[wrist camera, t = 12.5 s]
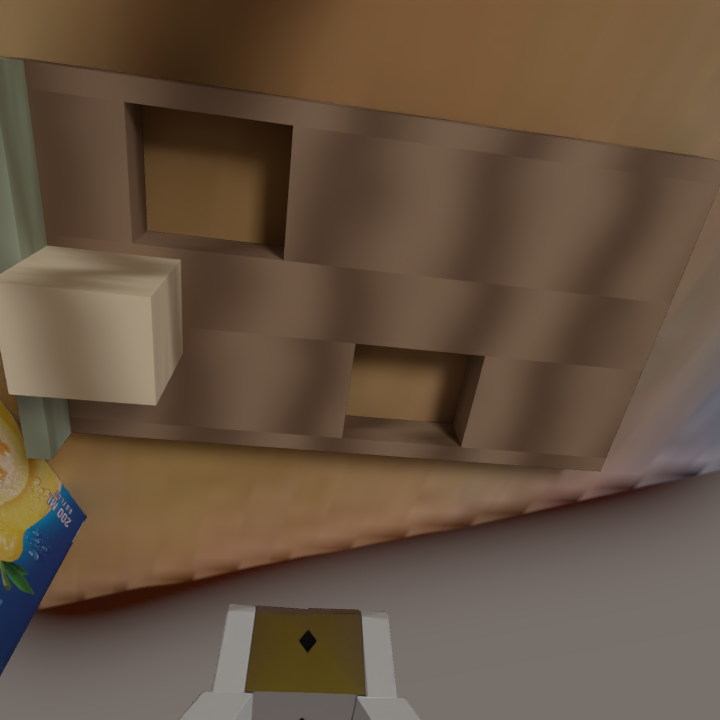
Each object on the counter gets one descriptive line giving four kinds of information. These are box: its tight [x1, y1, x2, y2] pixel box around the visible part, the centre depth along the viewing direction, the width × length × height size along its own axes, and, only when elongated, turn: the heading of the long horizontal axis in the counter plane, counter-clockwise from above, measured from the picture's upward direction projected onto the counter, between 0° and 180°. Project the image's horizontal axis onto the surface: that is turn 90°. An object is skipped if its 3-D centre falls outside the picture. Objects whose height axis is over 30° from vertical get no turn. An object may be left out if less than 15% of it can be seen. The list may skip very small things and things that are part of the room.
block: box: [0, 246, 183, 406], centre depth 24 cm, size 6×5×5 cm
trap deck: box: [0, 57, 720, 471], centre depth 27 cm, size 32×18×5 cm, turn 82°
